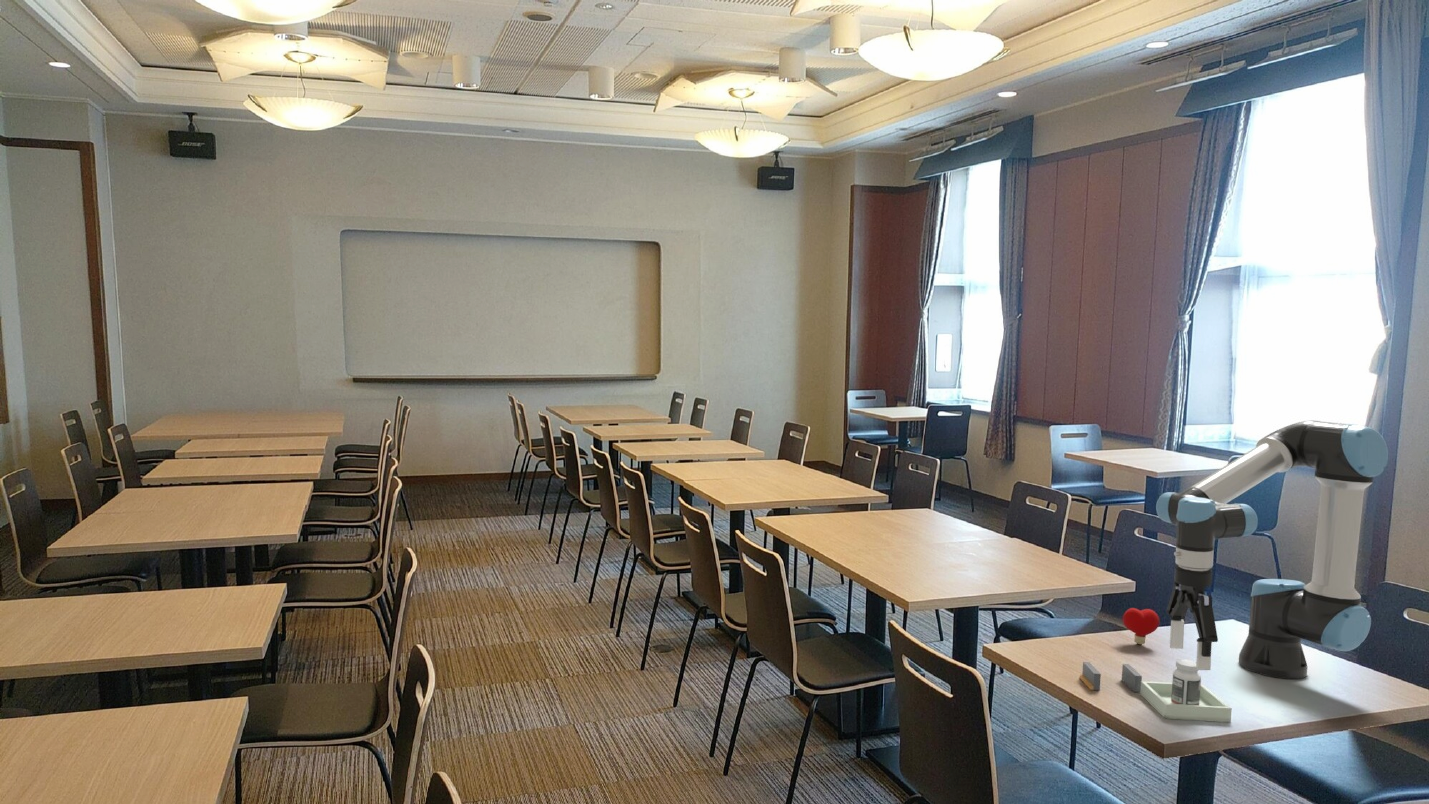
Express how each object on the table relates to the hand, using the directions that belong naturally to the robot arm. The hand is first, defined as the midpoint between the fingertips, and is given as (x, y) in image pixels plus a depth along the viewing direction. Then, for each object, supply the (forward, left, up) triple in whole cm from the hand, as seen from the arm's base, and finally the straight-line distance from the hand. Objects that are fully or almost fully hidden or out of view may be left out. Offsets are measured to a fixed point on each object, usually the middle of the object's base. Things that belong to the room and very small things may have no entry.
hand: (1189, 658), depth 210 cm
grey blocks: (+13, -12, -11) cm, 21 cm away
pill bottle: (0, +1, -11) cm, 11 cm away
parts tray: (+1, 0, -11) cm, 11 cm away
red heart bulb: (-6, -44, -12) cm, 46 cm away
